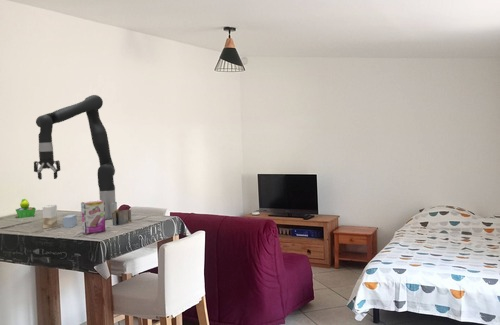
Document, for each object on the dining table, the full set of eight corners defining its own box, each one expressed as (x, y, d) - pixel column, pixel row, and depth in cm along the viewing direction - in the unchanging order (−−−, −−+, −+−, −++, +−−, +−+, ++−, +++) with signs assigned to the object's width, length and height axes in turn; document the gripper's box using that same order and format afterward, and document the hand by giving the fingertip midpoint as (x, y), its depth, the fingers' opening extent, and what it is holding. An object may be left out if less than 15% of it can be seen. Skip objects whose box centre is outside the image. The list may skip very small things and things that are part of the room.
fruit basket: (16, 218, 311) (15, 200, 311) (15, 216, 319) (14, 199, 318) (36, 216, 317) (35, 199, 316) (34, 214, 325) (33, 197, 324)
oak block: (57, 225, 283) (56, 215, 283) (51, 228, 275) (50, 217, 275) (49, 225, 283) (49, 215, 283) (43, 228, 275) (42, 218, 275)
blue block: (77, 225, 283) (76, 214, 283) (71, 227, 276) (71, 217, 275) (69, 225, 284) (68, 214, 283) (63, 228, 276) (63, 217, 275)
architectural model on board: (116, 226, 278) (115, 209, 277) (112, 225, 280) (112, 208, 279) (131, 223, 287) (131, 206, 286) (128, 222, 289) (127, 206, 288)
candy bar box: (85, 234, 255) (84, 203, 254) (81, 233, 259) (80, 202, 258) (106, 231, 263) (104, 200, 262) (102, 230, 266) (100, 199, 265)
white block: (57, 215, 283) (56, 205, 282) (50, 217, 275) (50, 207, 274) (49, 215, 283) (48, 205, 282) (42, 218, 275) (42, 207, 274)
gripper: (61, 150, 284) (62, 178, 285) (36, 150, 284) (38, 178, 285) (55, 150, 277) (57, 179, 278) (30, 151, 277) (32, 180, 278)
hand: (47, 179), depth 282 cm, fingers open, 8 cm apart
